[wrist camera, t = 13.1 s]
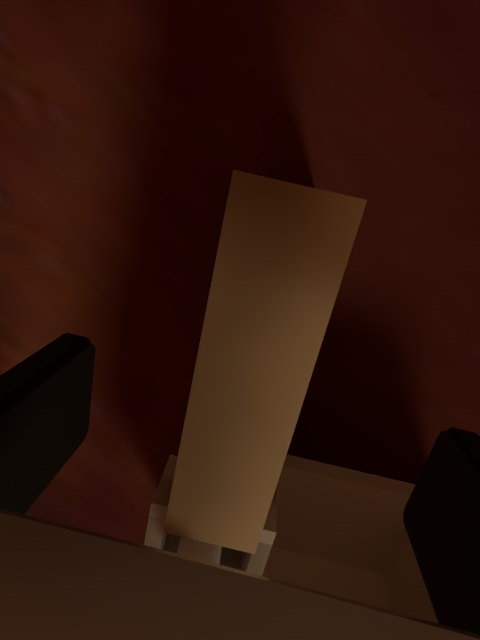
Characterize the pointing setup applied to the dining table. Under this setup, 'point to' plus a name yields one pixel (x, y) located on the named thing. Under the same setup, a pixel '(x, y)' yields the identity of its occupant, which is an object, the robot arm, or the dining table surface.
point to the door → (253, 365)
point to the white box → (340, 538)
